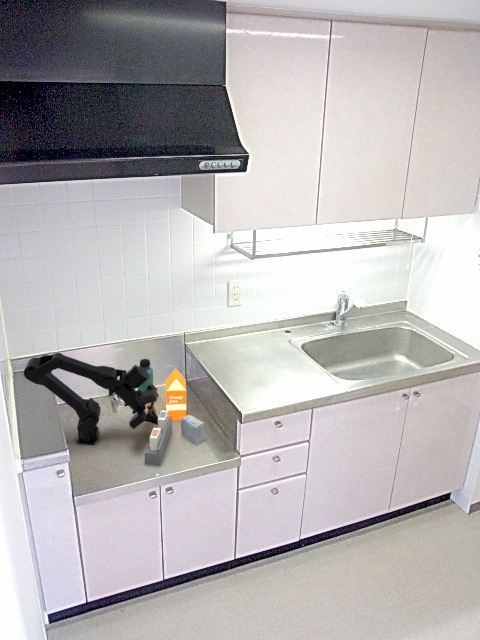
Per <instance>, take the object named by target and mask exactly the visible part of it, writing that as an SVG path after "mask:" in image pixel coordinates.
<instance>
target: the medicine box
mask: <svg viewBox="0 0 480 640" xmlns="http://www.w3.org/2000/svg"><path fill="white" fill-rule="evenodd" d="M180 425H181V426H180V427H181V429H180V431H181V433H180V434H181V436H182V437H184V438H185V439H187V441H188V440H189V441H190V442H191V443H193V444H195V445H197V444H199V443H201V442H202V441H204V439H205V422H203V421H202V420H200V419H198V418H197V417H195V416H193V415H191V414H188V415H186V417H184V418H182V419H181V420H180Z"/></svg>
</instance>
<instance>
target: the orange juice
mask: <svg viewBox="0 0 480 640" xmlns="http://www.w3.org/2000/svg"><path fill="white" fill-rule="evenodd" d="M186 381H187V380H186V378H185V377H184V376H183V375H182V373H181V372H180V371H179V369H177V367H175V368H174V369H173V370H172V372H171V373H169V376H167V378H166V379H165V395H166V398H165V400H166V401H165V402H166V403H165V404H166V406H165V407H166V409H165V410H166V411H168V418H169V416H172V422H173V421H181V419H182V418H184V417H186V416H187V385H186V384H187V382H186Z"/></svg>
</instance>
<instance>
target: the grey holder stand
mask: <svg viewBox="0 0 480 640" xmlns="http://www.w3.org/2000/svg"><path fill="white" fill-rule="evenodd" d="M156 428H158V425H157V427H156ZM172 433H173V421H172V416H169V418H168V421H167V423H166V426H165V429H164V431H163V433H161V439H160V442H159V444H158V447H157V452H154V451H150V450H145V451H144V452H143V453H144V464H145V465H149V466H150V465H151V466H161V464H162V461H163V458H164V455H165V452H166V450H167V447H168V445H169V441H170V438H171V437H172Z"/></svg>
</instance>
